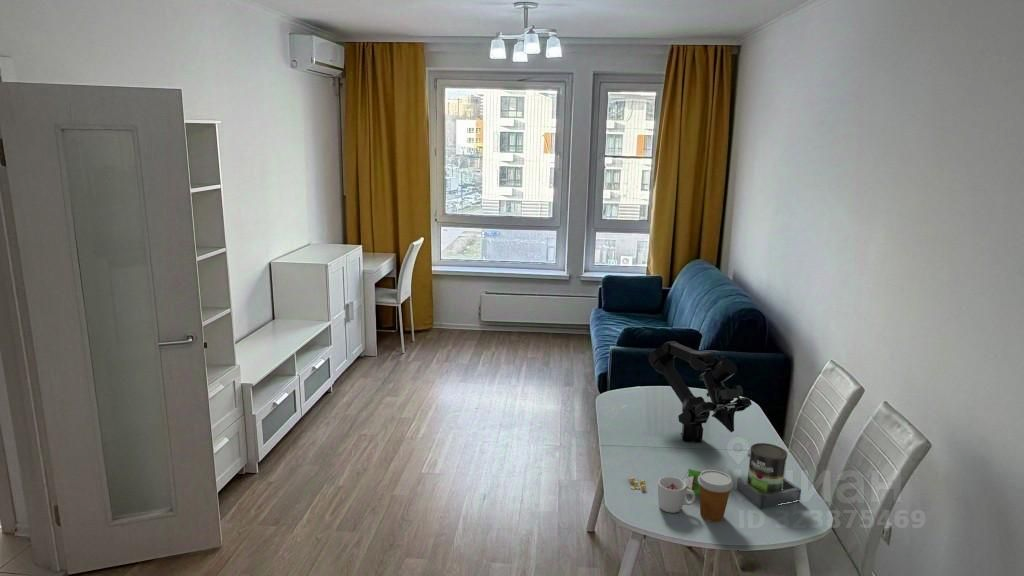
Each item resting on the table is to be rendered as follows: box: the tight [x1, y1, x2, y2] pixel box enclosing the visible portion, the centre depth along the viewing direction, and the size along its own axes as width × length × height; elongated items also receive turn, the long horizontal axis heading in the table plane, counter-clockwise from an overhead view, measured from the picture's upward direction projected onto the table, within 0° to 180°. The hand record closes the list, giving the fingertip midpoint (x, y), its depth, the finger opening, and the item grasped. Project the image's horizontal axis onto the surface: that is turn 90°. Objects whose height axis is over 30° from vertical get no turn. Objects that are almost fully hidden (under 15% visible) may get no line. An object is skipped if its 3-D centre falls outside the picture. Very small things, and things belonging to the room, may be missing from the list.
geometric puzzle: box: [682, 468, 702, 496], centre depth 202 cm, size 7×7×8 cm
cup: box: [657, 476, 697, 514], centre depth 191 cm, size 11×8×8 cm
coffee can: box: [746, 442, 788, 494], centre depth 201 cm, size 10×10×14 cm
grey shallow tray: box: [735, 477, 802, 510], centre depth 200 cm, size 11×14×4 cm
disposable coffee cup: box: [698, 469, 734, 523], centre depth 188 cm, size 10×10×12 cm
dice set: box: [629, 477, 647, 492], centre depth 204 cm, size 5×5×2 cm
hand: (732, 431), depth 216 cm, fingers closed
